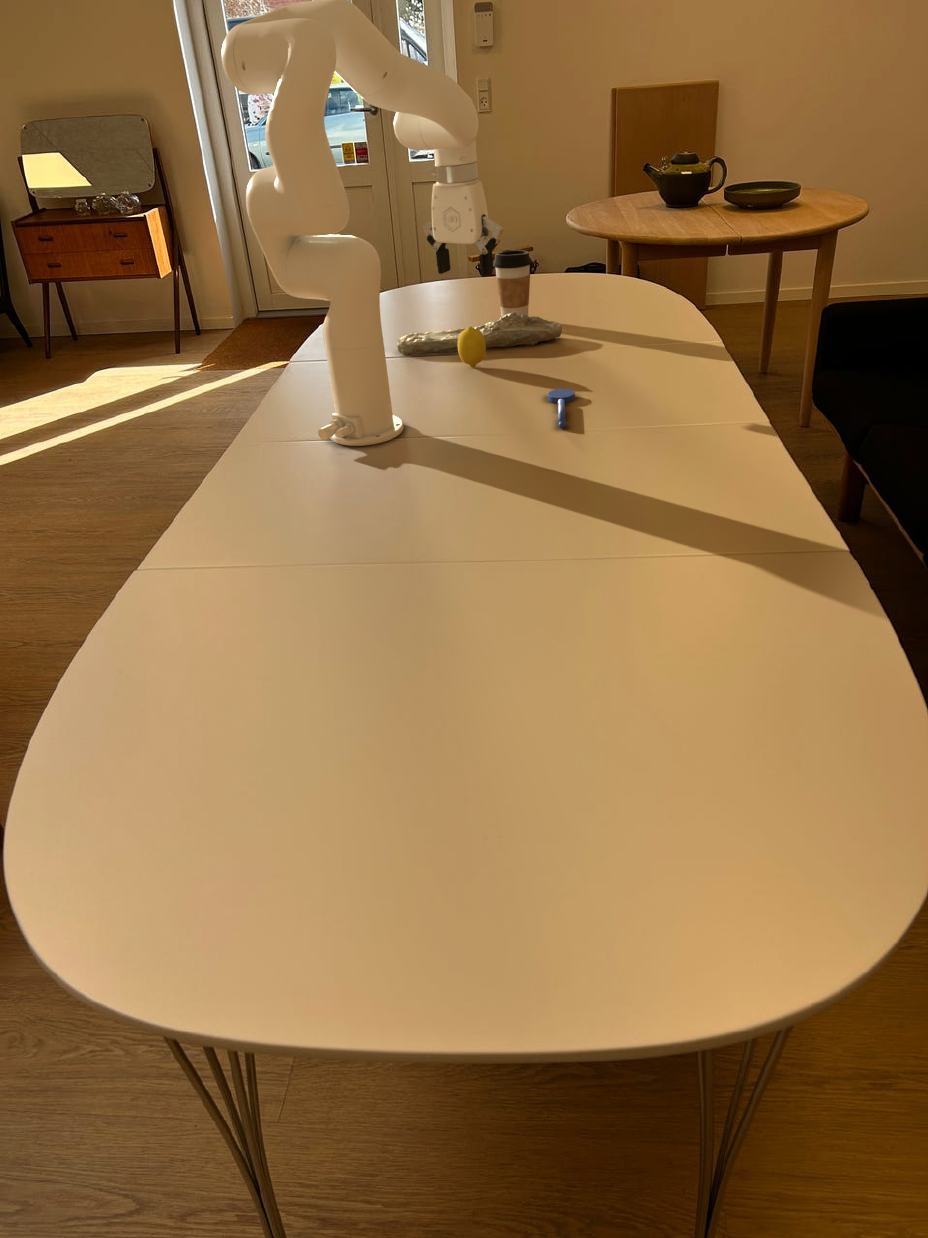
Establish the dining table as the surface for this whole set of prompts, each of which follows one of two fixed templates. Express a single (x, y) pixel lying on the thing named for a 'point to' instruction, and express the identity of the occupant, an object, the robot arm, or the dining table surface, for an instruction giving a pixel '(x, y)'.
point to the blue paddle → (561, 402)
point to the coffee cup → (513, 281)
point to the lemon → (471, 346)
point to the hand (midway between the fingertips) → (465, 273)
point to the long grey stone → (485, 335)
